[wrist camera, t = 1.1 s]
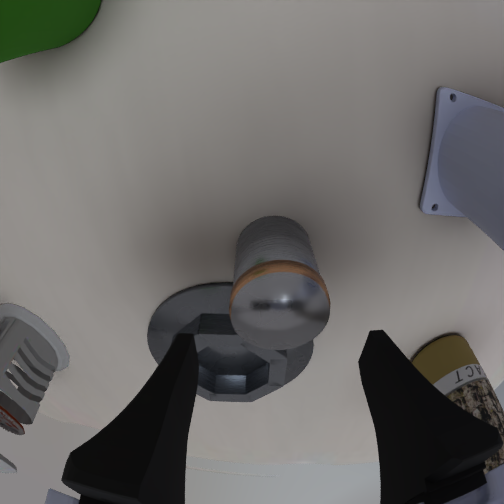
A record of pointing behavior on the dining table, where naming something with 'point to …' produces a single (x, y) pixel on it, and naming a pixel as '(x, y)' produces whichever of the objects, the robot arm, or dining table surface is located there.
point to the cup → (42, 24)
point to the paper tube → (463, 383)
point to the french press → (25, 368)
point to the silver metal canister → (277, 286)
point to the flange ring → (222, 346)
